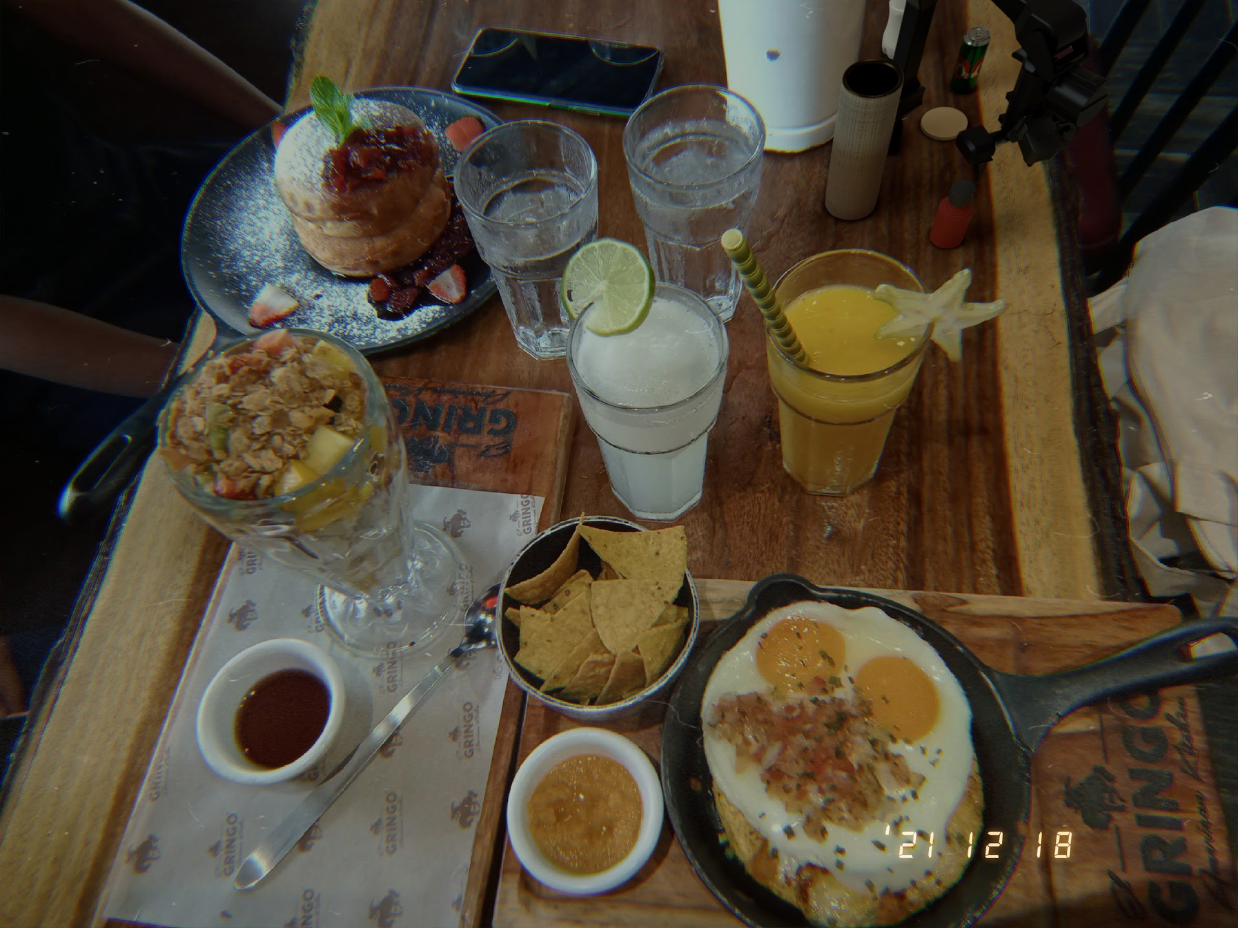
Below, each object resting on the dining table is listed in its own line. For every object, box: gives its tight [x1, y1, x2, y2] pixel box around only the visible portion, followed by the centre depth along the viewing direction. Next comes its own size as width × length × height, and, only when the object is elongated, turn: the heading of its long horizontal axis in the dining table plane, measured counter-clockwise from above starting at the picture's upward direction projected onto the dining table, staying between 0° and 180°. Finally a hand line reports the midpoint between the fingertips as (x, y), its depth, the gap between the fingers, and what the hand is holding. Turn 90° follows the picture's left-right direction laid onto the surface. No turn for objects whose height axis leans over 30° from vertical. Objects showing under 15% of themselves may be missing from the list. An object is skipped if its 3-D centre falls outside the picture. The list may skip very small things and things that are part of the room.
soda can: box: [949, 25, 991, 95], centre depth 150 cm, size 5×5×12 cm
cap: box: [947, 178, 977, 207], centre depth 129 cm, size 4×4×3 cm
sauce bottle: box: [929, 195, 975, 250], centre depth 134 cm, size 6×6×12 cm
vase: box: [824, 57, 904, 221], centre depth 134 cm, size 10×10×28 cm
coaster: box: [920, 106, 969, 141], centre depth 151 cm, size 9×9×1 cm
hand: (1002, 173), depth 128 cm, fingers open, 9 cm apart
